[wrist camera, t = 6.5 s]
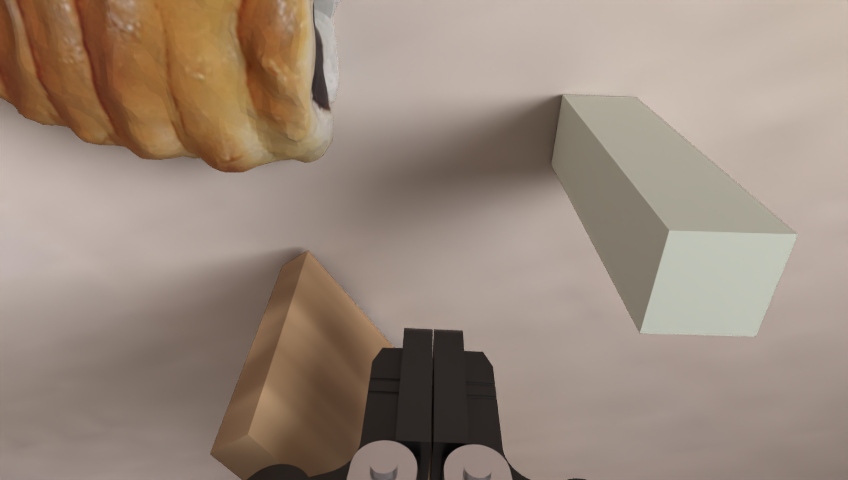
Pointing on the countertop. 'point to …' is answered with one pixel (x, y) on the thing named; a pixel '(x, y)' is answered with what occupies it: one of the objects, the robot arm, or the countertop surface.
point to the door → (301, 378)
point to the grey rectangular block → (668, 220)
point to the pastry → (177, 75)
